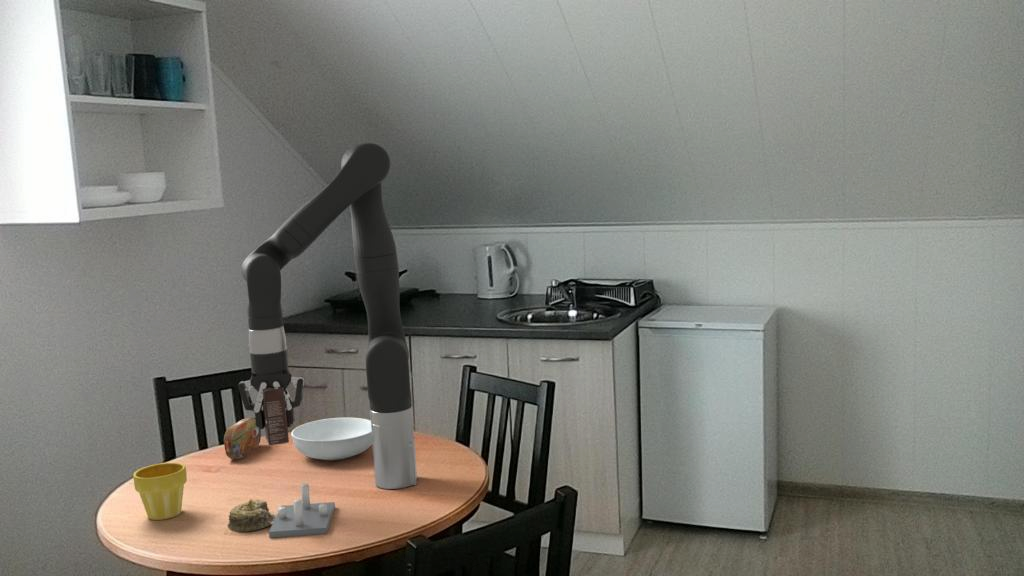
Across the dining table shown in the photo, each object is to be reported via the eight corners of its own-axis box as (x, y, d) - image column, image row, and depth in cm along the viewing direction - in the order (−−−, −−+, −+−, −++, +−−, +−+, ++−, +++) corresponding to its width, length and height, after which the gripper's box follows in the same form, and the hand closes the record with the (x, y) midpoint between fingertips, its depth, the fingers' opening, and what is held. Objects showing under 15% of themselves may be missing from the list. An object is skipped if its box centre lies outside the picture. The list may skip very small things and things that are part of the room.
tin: (235, 463, 228) (232, 430, 227) (223, 463, 229) (220, 430, 228) (263, 445, 243) (260, 413, 242) (252, 444, 243) (249, 413, 242)
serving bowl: (372, 466, 221) (370, 438, 220) (284, 470, 221) (281, 442, 220) (384, 440, 242) (382, 414, 241) (304, 444, 242) (302, 418, 241)
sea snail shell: (230, 540, 182) (225, 514, 182) (225, 523, 192) (221, 498, 191) (281, 526, 186) (277, 500, 185) (274, 510, 195) (270, 486, 194)
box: (263, 439, 199) (259, 384, 198) (285, 436, 201) (281, 381, 199) (267, 446, 194) (263, 390, 192) (289, 443, 195) (285, 387, 194)
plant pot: (132, 514, 197) (127, 469, 196) (181, 501, 203) (177, 458, 202) (145, 528, 189) (140, 481, 187) (196, 515, 194) (192, 469, 193)
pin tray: (335, 507, 195) (332, 478, 194) (326, 533, 181) (324, 503, 180) (281, 511, 194) (279, 482, 193) (269, 537, 180) (266, 507, 180)
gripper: (305, 342, 199) (312, 420, 201) (237, 347, 198) (245, 425, 200) (300, 349, 191) (307, 429, 194) (229, 354, 190) (237, 435, 193)
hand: (275, 427), depth 197 cm, fingers closed on box, 5 cm apart
